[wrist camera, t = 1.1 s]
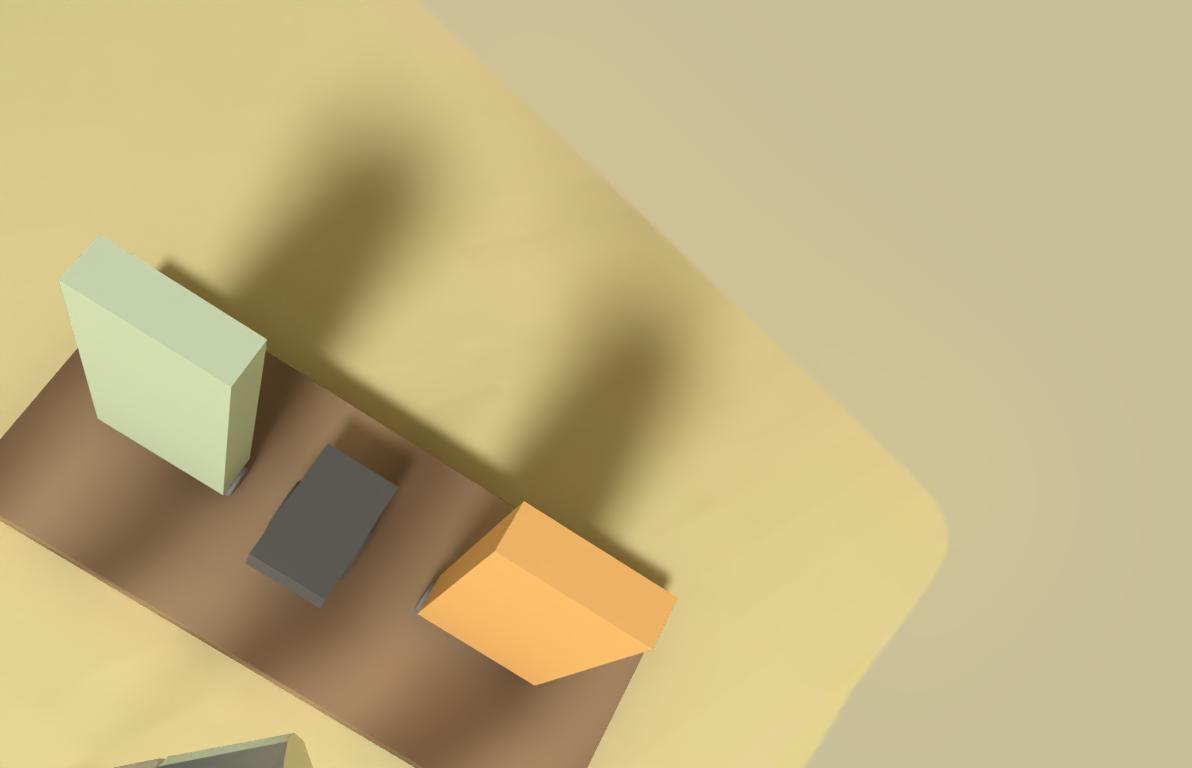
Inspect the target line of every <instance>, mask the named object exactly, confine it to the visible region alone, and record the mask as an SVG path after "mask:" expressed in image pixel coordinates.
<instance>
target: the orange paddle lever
mask: <svg viewBox="0 0 1192 768" xmlns="http://www.w3.org/2000/svg"><path fill="white" fill-rule="evenodd" d="M676 600H677V597H675V596H674V595H672V594H671V593H669V592H668V591H666V590H664V589H663V588H661V587H660V586H658V585H656V584H655V583H653V582H652V581H650V580H648V579H647V578H645V577H644V576H642V575H641V574H639V573H637V572H636V571H634V570H633V569H631V568H629V567H628V566H626V565H625V564H623V563H621V562H620V561H618V560H617V559H615V558H614V557H612V556H610V555H609V554H607V553H606V552H604V551H602V550H601V549H599V548H598V547H596V546H594V545H593V544H591V543H590V542H588V541H586V540H585V539H583V538H582V537H580V536H579V535H577V534H575V533H574V532H572V531H571V530H569V529H567V528H566V527H564V526H563V525H561V524H559V523H558V522H556V521H555V520H553V519H552V518H550V517H548V516H547V515H545V514H544V513H542V512H540V511H539V510H537V509H536V508H534V507H532V506H531V505H529V504H528V503H526V502H525V501H523V502H522V503H521V504H520V505H519V506H518V507H517V508H516V509H514V510H513V511H512V512H511V513H510V514H509V515H508V516H507V517H505V518H504V519H503V520H502V521H501V522H500V523H499V524H498V525H496V526H495V527H494V528H493V529H492V530H491V531H490V532H489V533H487V534H486V535H485V536H484V537H483V538H482V539H481V540H480V541H478V542H477V543H476V544H475V545H474V546H473V547H472V548H471V549H469V550H468V551H467V552H466V553H465V554H464V555H463V556H462V557H460V558H459V559H458V560H457V561H456V562H455V563H454V564H453V565H451V566H450V567H449V568H448V569H447V570H446V571H445V572H444V573H442V574H441V575H440V577H439V578H438V580H437V582H436V583H435V584H434V583H433V582H431V583H430V584H429V586H428V587H427V589H426V590H425V592H424V593H423V595H422V596H421V598H420V600H419V601H418V603H417V605H416V607H415V609H414V611H416V612H417V614H418V615H420V616H422V617H423V618H425V619H426V620H428V621H430V622H431V623H433V624H435V625H436V626H438V627H440V628H441V629H443V630H444V631H446V632H448V633H449V634H451V635H453V636H454V637H456V638H458V639H459V640H461V641H462V642H464V643H466V644H467V645H469V646H471V647H472V648H474V649H476V650H477V651H479V652H480V653H482V654H484V655H485V656H487V657H489V658H490V659H492V660H494V661H495V662H497V663H498V664H500V665H502V666H503V667H505V668H507V669H508V670H510V671H512V672H513V673H515V674H516V675H518V676H520V677H521V678H523V679H525V680H526V681H528V682H530V683H531V684H533V685H534V686H535V685H539V684H542V683H545V682H548V681H552V680H555V679H558V678H561V677H565V676H568V675H571V674H574V673H578V672H581V671H584V670H587V669H591V668H594V667H597V666H600V665H604V664H607V663H610V662H613V661H617V660H620V659H623V658H626V657H630V656H633V655H636V654H639V653H643V652H646V651H649V650H652V649H653V647H654V645H655V643H656V641H657V639H658V637H659V635H660V633H661V631H662V629H663V627H664V625H665V623H666V621H667V619H668V617H669V615H670V613H671V611H672V609H673V607H674V605H675V603H676Z"/></svg>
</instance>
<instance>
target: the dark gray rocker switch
mask: <svg viewBox="0 0 1192 768" xmlns="http://www.w3.org/2000/svg"><path fill="white" fill-rule="evenodd" d="M397 489H398V487H397V486H396V485H394V484H392V483H391V482H389V481H388V480H386V479H384V478H383V477H381V476H380V475H378V474H376V473H375V472H373V471H372V470H370V469H368V468H367V467H365V466H364V465H362V464H360V463H359V462H357V461H355V460H354V459H352V458H351V457H349V456H347V455H346V454H344V453H343V452H341V451H339V450H338V449H336V448H335V447H333V446H331V445H330V444H327V445H326V447H325V448H324V449H323V451H322V452H321V454H320V455H319V456H318V458H317V459H316V461H315V462H314V463H313V465H312V466H311V468H310V469H309V470H308V472H307V473H306V475H305V476H304V477H303V479H302V480H301V481H300V480H299V481H298V482H297V483H296V484H295V486H294V487H293V488H292V489H291V491H290V492H289V493H288V495H287V496H286V498H285V499H284V501H283V502H282V503H281V505H280V506H279V508H278V510H277V511H276V513H275V514H274V516H273V517H272V519H271V521H270V522H269V524H268V526H267V528H266V530H265V532H264V534H263V535H262V536H261V538H260V539H259V541H258V542H257V543H256V545H255V546H254V548H253V549H252V550H251V552H250V553H249V555H248V558H247V560H246V562H245V563H246V564H247V565H249V566H251V567H252V568H254V569H256V570H257V571H259V572H261V573H262V574H264V575H266V576H267V577H269V578H271V579H272V580H274V581H275V582H277V583H279V584H280V585H282V586H284V587H285V588H287V589H289V590H290V591H292V592H294V593H295V594H297V595H299V596H300V597H302V598H304V599H305V600H307V601H309V602H310V603H312V604H313V605H315V606H317V607H318V608H321V607H322V605H323V604H324V602H325V601H326V599H327V597H328V596H329V594H330V593H331V591H332V590H333V588H334V587H335V585H336V583H337V582H338V580H339V579H341V580H342V579H343V578H344V576H345V575H346V573H347V572H348V570H349V569H350V567H351V565H352V564H353V562H354V561H355V559H356V558H357V556H358V555H359V553H360V551H361V550H362V548H363V547H364V545H365V544H366V542H367V541H368V539H369V537H370V536H371V534H372V533H373V531H374V530H375V528H376V527H375V526H374V524H375V523H376V521H377V520H378V518H379V517H380V515H381V514H382V512H383V511H384V509H385V507H386V506H387V504H388V503H389V501H390V500H391V498H392V497H393V495H394V493H395V492H396V490H397Z"/></svg>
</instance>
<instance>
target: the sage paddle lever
mask: <svg viewBox="0 0 1192 768" xmlns="http://www.w3.org/2000/svg"><path fill="white" fill-rule="evenodd" d="M59 282H60V286H61V289H62V293H63V296H64V300H65V303H66V307H67V311H68V314H69V318H70V321H71V325H72V328H73V332H74V336H75V339H76V343H77V346H78V350H79V353H80V357H81V361H82V364H83V368H84V371H85V375H86V379H87V382H88V386H89V389H90V393H91V396H92V400H93V404H94V407H95V411H96V414H97V418H98V419H99V420H101V421H102V422H104V423H106V424H107V425H109V426H111V427H112V428H114V429H115V430H117V431H119V432H120V433H122V434H124V435H125V436H127V437H129V438H130V439H132V440H133V441H135V442H137V443H138V444H140V445H142V446H143V447H145V448H147V449H148V450H150V451H151V452H153V453H155V454H156V455H158V456H160V457H161V458H163V459H165V460H166V461H168V462H169V463H171V464H173V465H174V466H176V467H178V468H179V469H181V470H183V471H184V472H186V473H187V474H189V475H191V476H192V477H194V478H196V479H197V480H199V481H201V482H202V483H204V484H205V485H207V486H209V487H210V488H212V489H214V490H215V491H217V492H219V493H220V494H222V495H226V496H228V497H230V496H231V495H232V494H233V493H234V491H235V490H236V489H237V487H238V486H239V485H240V483H241V482H242V480H243V478H244V477H245V475H246V473H247V471H248V468H246V467H244V466H245V464H246V463H247V461H248V460H249V459H250V453H251V446H252V439H253V433H254V426H255V419H256V412H257V405H258V399H259V392H260V385H261V378H262V371H263V365H264V358H265V351H266V344H267V339H265V338H264V337H262V336H261V335H259V334H258V333H256V332H254V331H253V330H251V329H250V328H248V327H246V326H245V325H243V324H242V323H240V322H238V321H237V320H235V319H234V318H232V317H231V316H229V315H227V314H226V313H224V312H223V311H221V310H219V309H218V308H216V307H215V306H213V305H211V304H210V303H208V302H207V301H205V300H203V299H202V298H200V297H199V296H197V295H196V294H194V293H192V292H191V291H189V290H188V289H186V288H184V287H183V286H181V285H180V284H178V283H176V282H175V281H173V280H172V279H170V278H169V277H167V276H165V275H164V274H162V273H161V272H159V271H157V270H156V269H154V268H153V267H151V266H149V265H148V264H146V263H145V262H143V261H142V260H140V259H138V258H137V257H135V256H134V255H132V254H130V253H129V252H127V251H126V250H124V249H122V248H121V247H119V246H118V245H116V244H114V243H113V242H111V241H110V240H108V239H107V238H105V237H103V236H102V235H100V234H99V236H98V237H97V238H96V239H95V240H94V241H93V242H92V243H91V245H90V246H89V247H88V248H87V249H86V250H85V251H84V252H83V254H82V255H81V256H80V257H79V258H78V259H77V260H76V261H75V263H74V264H73V265H72V266H71V267H70V268H69V269H68V270H67V272H66V273H65V274H64V275H63V276H62V277H61V278H60V279H59Z"/></svg>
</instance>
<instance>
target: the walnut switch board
mask: <svg viewBox="0 0 1192 768" xmlns="http://www.w3.org/2000/svg"><path fill="white" fill-rule="evenodd" d="M327 444H330V445H331V446H333V447H335V448H336V449H338V450H339V451H341V452H343V453H344V454H346V455H347V456H349V457H351V458H352V459H354V460H355V461H357V462H359V463H360V464H362V465H364V466H365V467H367V468H368V469H370V470H372V471H373V472H375V473H376V474H378V475H380V476H381V477H383V478H384V479H386V480H388V481H389V482H391V483H392V484H394V485H396V486H397V487H398V489H397V490H396V492H395V493H394V495H393V497H392V498H391V500H390V501H389V503H388V504H387V506H386V507H385V509H384V511H383V512H382V514H381V515H380V517H379V518H378V520H377V521H376V523H375V524H374V526H375V527H376V528H375V530H374V531H373V533H372V534H371V536H370V537H369V539H368V541H367V542H366V544H365V545H364V547H363V548H362V550H361V551H360V553H359V555H358V556H357V558H356V559H355V561H354V562H353V564H352V565H351V567H350V569H349V570H348V572H347V573H346V575H345V576H344V578H343V579H342V580H341V579H339V580H338V582H337V583H336V585H335V587H334V588H333V590H332V591H331V593H330V594H329V596H328V597H327V599H326V601H325V602H324V604H323V605H322V607H321V608H318V607H317V606H315V605H313V604H312V603H310V602H309V601H307V600H305V599H304V598H302V597H300V596H299V595H297V594H295V593H294V592H292V591H290V590H289V589H287V588H285V587H284V586H282V585H280V584H279V583H277V582H275V581H274V580H272V579H271V578H269V577H267V576H266V575H264V574H262V573H261V572H259V571H257V570H256V569H254V568H252V567H251V566H249V565H247V564H246V563H245V562H246V560H247V558H248V555H249V553H250V552H251V550H252V549H253V548H254V546H255V545H256V543H257V542H258V541H259V539H260V538H261V536H262V535H263V534H264V532H265V530H266V528H267V526H268V524H269V522H270V521H271V519H272V517H273V516H274V514H275V513H276V511H277V510H278V508H279V506H280V505H281V503H282V502H283V501H284V499H285V498H286V496H287V495H288V493H289V492H290V491H291V489H292V488H293V487H294V486H295V484H296V483H297V482H298V481H299V480H300V481H301V480H302V479H303V477H304V476H305V475H306V473H307V472H308V470H309V469H310V468H311V466H312V465H313V463H314V462H315V461H316V459H317V458H318V456H319V455H320V454H321V452H322V451H323V449H324V448H325V447H326V445H327ZM244 467H246V468H248V471H247V473H246V475H245V477H244V478H243V480H242V482H241V483H240V485H239V486H238V487H237V489H236V490H235V491H234V493H233V494H232V495H231V496H230V497H228V496H226V495H222V494H220V493H219V492H217V491H215V490H214V489H212V488H210V487H209V486H207V485H205V484H204V483H202V482H201V481H199V480H197V479H196V478H194V477H192V476H191V475H189V474H187V473H186V472H184V471H183V470H181V469H179V468H178V467H176V466H174V465H173V464H171V463H169V462H168V461H166V460H165V459H163V458H161V457H160V456H158V455H156V454H155V453H153V452H151V451H150V450H148V449H147V448H145V447H143V446H142V445H140V444H138V443H137V442H135V441H133V440H132V439H130V438H129V437H127V436H125V435H124V434H122V433H120V432H119V431H117V430H115V429H114V428H112V427H111V426H109V425H107V424H106V423H104V422H102V421H101V420H99V419H98V418H97V414H96V411H95V407H94V404H93V400H92V396H91V393H90V389H89V386H88V382H87V379H86V375H85V371H84V368H83V364H82V361H81V357H80V353H79V350H78V348H77V350H76V351H75V352H74V353H73V354H72V356H71V357H70V358H69V359H68V360H67V361H66V363H65V364H64V365H63V366H62V367H61V368H60V370H59V371H58V372H57V373H56V374H55V376H54V377H53V378H52V379H51V380H50V381H49V383H48V384H47V385H46V386H45V387H44V388H43V390H42V391H41V392H40V393H39V394H38V396H37V397H36V398H35V399H34V400H33V401H32V403H31V404H30V405H29V406H28V407H27V409H26V410H25V411H24V412H23V413H22V414H21V416H20V417H19V418H18V419H17V420H16V421H15V423H14V424H13V425H12V426H11V427H10V429H9V430H8V431H7V432H6V433H5V434H4V436H3V437H2V438H1V439H0V521H2V522H3V523H5V524H7V525H9V526H10V527H12V528H14V529H15V530H17V531H19V532H20V533H22V534H24V535H25V536H27V537H29V538H30V539H32V540H34V541H35V542H37V543H39V544H40V545H42V546H44V547H45V548H47V549H49V550H51V551H52V552H54V553H56V554H57V555H59V556H61V557H62V558H64V559H66V560H67V561H69V562H71V563H72V564H74V565H76V566H77V567H79V568H81V569H82V570H84V571H86V572H87V573H89V574H91V575H93V576H94V577H96V578H98V579H99V580H101V581H103V582H104V583H106V584H108V585H109V586H111V587H113V588H114V589H116V590H118V591H119V592H121V593H123V594H124V595H126V596H128V597H129V598H131V599H133V600H134V601H136V602H138V603H140V604H141V605H143V606H145V607H146V608H148V609H150V610H151V611H153V612H155V613H156V614H158V615H160V616H161V617H163V618H165V619H166V620H168V621H170V622H171V623H173V624H175V625H176V626H178V627H180V628H182V629H183V630H185V631H187V632H188V633H190V634H192V635H193V636H195V637H197V638H198V639H200V640H202V641H203V642H205V643H207V644H208V645H210V646H212V647H213V648H215V649H217V650H218V651H220V652H222V653H224V654H225V655H227V656H229V657H230V658H232V659H234V660H235V661H237V662H239V663H240V664H242V665H244V666H245V667H247V668H249V669H250V670H252V671H254V672H255V673H257V674H259V675H260V676H262V677H264V678H266V679H267V680H269V681H271V682H272V683H274V684H276V685H277V686H279V687H281V688H282V689H284V690H286V691H287V692H289V693H291V694H292V695H294V696H296V697H297V698H299V699H301V700H302V701H304V702H306V703H308V704H309V705H311V706H313V707H314V708H316V709H318V710H319V711H321V712H323V713H324V714H326V715H328V716H329V717H331V718H333V719H334V720H336V721H338V722H339V723H341V724H343V725H344V726H346V727H348V728H350V729H351V730H353V731H355V732H356V733H358V734H360V735H361V736H363V737H365V738H366V739H368V740H370V741H371V742H373V743H375V744H376V745H378V746H380V747H381V748H383V749H385V750H386V751H388V752H390V753H392V754H393V755H395V756H397V757H398V758H400V759H402V760H403V761H405V762H407V763H408V764H410V765H412V766H413V767H415V768H587V767H588V765H589V763H590V761H591V759H592V757H593V755H594V753H595V751H596V749H597V747H598V745H599V743H600V741H601V739H602V737H603V735H604V733H605V731H606V729H607V726H608V724H609V722H610V720H611V718H612V716H613V714H614V712H615V710H616V708H617V706H618V704H619V702H620V700H621V698H622V696H623V694H624V692H625V690H626V688H627V686H628V684H629V682H630V680H631V678H632V676H633V674H634V672H635V670H636V668H637V666H638V664H639V661H640V659H641V657H642V655H643V653H644V652H643V653H639V654H636V655H633V656H630V657H626V658H623V659H620V660H617V661H613V662H610V663H607V664H604V665H600V666H597V667H594V668H591V669H587V670H584V671H581V672H578V673H574V674H571V675H568V676H565V677H561V678H558V679H555V680H552V681H548V682H545V683H542V684H539V685H535V686H534V685H533V684H531V683H530V682H528V681H526V680H525V679H523V678H521V677H520V676H518V675H516V674H515V673H513V672H512V671H510V670H508V669H507V668H505V667H503V666H502V665H500V664H498V663H497V662H495V661H494V660H492V659H490V658H489V657H487V656H485V655H484V654H482V653H480V652H479V651H477V650H476V649H474V648H472V647H471V646H469V645H467V644H466V643H464V642H462V641H461V640H459V639H458V638H456V637H454V636H453V635H451V634H449V633H448V632H446V631H444V630H443V629H441V628H440V627H438V626H436V625H435V624H433V623H431V622H430V621H428V620H426V619H425V618H423V617H422V616H420V615H418V614H417V612H416V611H414V609H415V607H416V605H417V603H418V601H419V600H420V598H421V596H422V595H423V593H424V592H425V590H426V589H427V587H428V586H429V584H430V583H431V582H433V583H434V584H435V583H436V582H437V580H438V578H439V577H440V575H441V574H442V573H444V572H445V571H446V570H447V569H448V568H449V567H450V566H451V565H453V564H454V563H455V562H456V561H457V560H458V559H459V558H460V557H462V556H463V555H464V554H465V553H466V552H467V551H468V550H469V549H471V548H472V547H473V546H474V545H475V544H476V543H477V542H478V541H480V540H481V539H482V538H483V537H484V536H485V535H486V534H487V533H489V532H490V531H491V530H492V529H493V528H494V527H495V526H496V525H498V524H499V523H500V522H501V521H502V520H503V519H504V518H505V517H507V516H508V515H509V514H510V513H511V512H512V511H513V510H514V509H516V508H514V507H513V506H511V505H510V504H508V503H506V502H505V501H503V500H502V499H500V498H499V497H497V496H495V495H494V494H492V493H491V492H489V491H487V490H486V489H484V488H483V487H481V486H479V485H478V484H476V483H475V482H473V481H471V480H470V479H468V478H467V477H465V476H463V475H462V474H460V473H459V472H457V471H456V470H454V469H452V468H451V467H449V466H448V465H446V464H444V463H443V462H441V461H440V460H438V459H436V458H435V457H433V456H432V455H430V454H428V453H427V452H425V451H424V450H422V449H421V448H419V447H417V446H416V445H414V444H413V443H411V442H409V441H408V440H406V439H405V438H403V437H401V436H400V435H398V434H397V433H395V432H393V431H392V430H390V429H389V428H387V427H385V426H384V425H382V424H381V423H379V422H378V421H376V420H374V419H373V418H371V417H370V416H368V415H366V414H365V413H363V412H362V411H360V410H358V409H357V408H355V407H354V406H352V405H350V404H349V403H347V402H346V401H344V400H342V399H341V398H339V397H338V396H336V395H335V394H333V393H331V392H330V391H328V390H327V389H325V388H323V387H322V386H320V385H319V384H317V383H315V382H314V381H312V380H311V379H309V378H307V377H306V376H304V375H303V374H301V373H299V372H298V371H296V370H295V369H293V368H292V367H290V366H288V365H287V364H285V363H284V362H282V361H280V360H279V359H277V358H276V357H274V356H272V355H271V354H269V353H268V352H266V351H265V358H264V365H263V371H262V378H261V385H260V392H259V399H258V405H257V412H256V419H255V426H254V433H253V439H252V446H251V453H250V459H249V460H248V461H247V463H246V464H245V466H244Z"/></svg>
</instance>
